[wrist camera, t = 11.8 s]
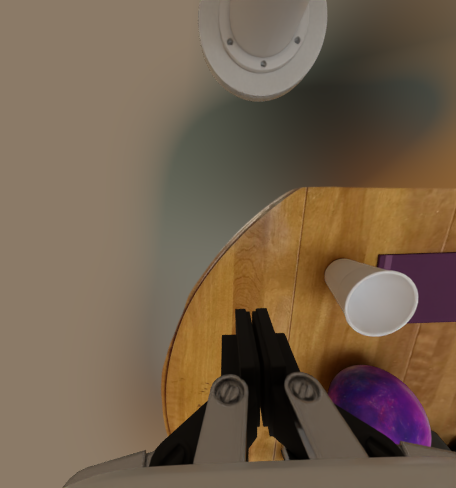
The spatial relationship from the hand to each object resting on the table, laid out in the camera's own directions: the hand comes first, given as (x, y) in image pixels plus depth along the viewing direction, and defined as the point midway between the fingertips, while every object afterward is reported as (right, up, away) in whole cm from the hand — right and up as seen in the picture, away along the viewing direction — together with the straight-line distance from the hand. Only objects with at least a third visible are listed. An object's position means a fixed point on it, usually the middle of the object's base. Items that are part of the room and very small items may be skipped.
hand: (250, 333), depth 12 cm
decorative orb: (+25, -23, +35) cm, 48 cm away
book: (+35, -4, +29) cm, 46 cm away
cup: (+19, -1, +29) cm, 35 cm away
